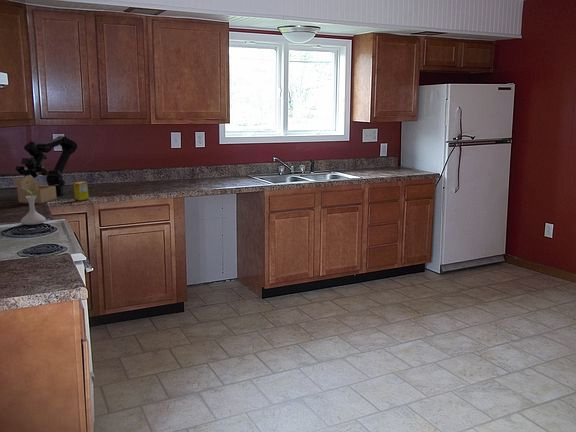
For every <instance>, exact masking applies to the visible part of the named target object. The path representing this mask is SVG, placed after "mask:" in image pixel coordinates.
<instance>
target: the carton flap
mask: <svg viewBox="0 0 576 432" xmlns="http://www.w3.org/2000/svg"><path fill="white" fill-rule="evenodd" d="M23 178H24V177H23ZM23 178H22V177H13V181H14V185H15V186H16V190H17V189H22V186H23V185H21V184H22V181H23ZM37 185H38V184H37V183H36V180H35V178H34V179H33V183H32V185H31V186H32V187H31V186H30V188H29V189H32V188H33V190H38V187H37Z"/></svg>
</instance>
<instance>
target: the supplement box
mask: <svg viewBox="0 0 576 432" xmlns="http://www.w3.org/2000/svg"><path fill="white" fill-rule="evenodd" d="M88 186H89V185H88V182H87V181H75V182H73V192H74V201H76V202H85V201H89V200H90V199H89V187H88Z"/></svg>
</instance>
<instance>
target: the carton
mask: <svg viewBox="0 0 576 432" xmlns="http://www.w3.org/2000/svg"><path fill="white" fill-rule="evenodd" d="M36 185H37V187H38V190H35V193H36V195H32V194H30V193H28V192H27V189H26V190H24V189H17V188H16V190H17V199H18V203H22V204H23V203H24V204H29V202H28V200H27V198H26V196H31V195H32V196H36V198H35V201H34V204H39V205H41V204H45V203H49V202H52V201H55V200H57V199H58V198H57V197H58V196H57V197H56V186H48V185H40V184H36ZM28 190H29V191H31V192H32V191H34V190H32V189H28Z"/></svg>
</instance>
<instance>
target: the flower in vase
mask: <svg viewBox="0 0 576 432" xmlns="http://www.w3.org/2000/svg"><path fill="white" fill-rule="evenodd" d="M33 179H35V178H33V176H32V175H29V177H28V175H27V176H25V175H24V177H23V181H22V184H21V185H23V186H22V189H24V190H26V189H27V192H28V193H30V194H32V195H36V193H35V190H34V191H32V192H31V191H29V190H28V189H29V188H30V186H31V185H32V183H33ZM31 187H32V186H31ZM32 190H33V188H32ZM32 195H31V196H26V198H27V200H28V202H29V203H28V206H29V211H28V212H27V213H26V215H24V216H23V218H22V219H21V220H20V223H21V224H23V225H28V226H33V225H34V226H35V225H39V224H43V223H45V222H46V217H45V216H44V215H42V214H40V213H39V212H38V211H36V207H35V203H34V201H35V198H36V196H32Z"/></svg>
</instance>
